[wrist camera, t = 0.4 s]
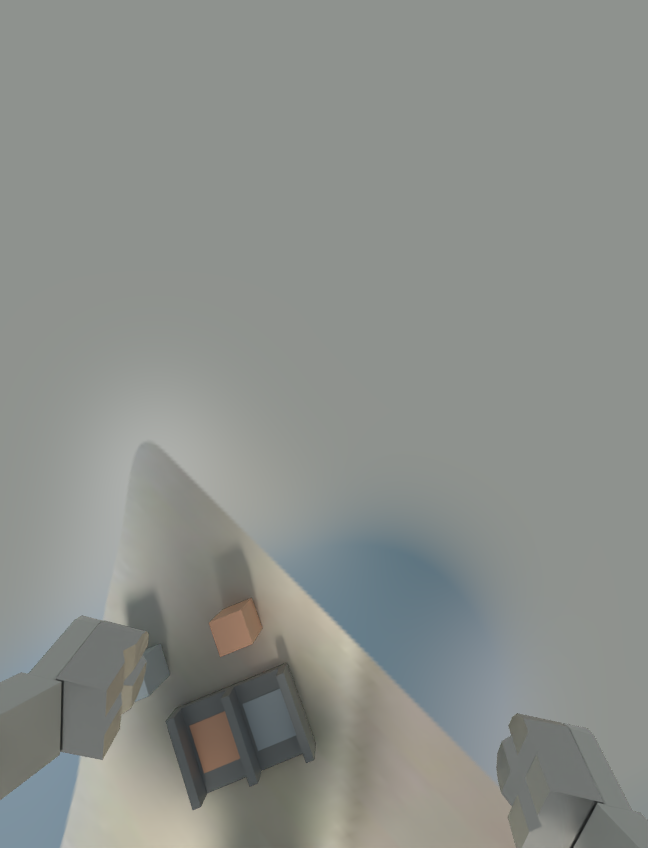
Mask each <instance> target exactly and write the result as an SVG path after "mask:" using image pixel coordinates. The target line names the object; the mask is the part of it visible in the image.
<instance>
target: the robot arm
mask: <svg viewBox="0 0 648 848" xmlns="http://www.w3.org/2000/svg"><path fill="white" fill-rule="evenodd" d="M148 639H149V633H148V632H147V631H144V630H140V629H136V628H132V627H128V626H124V625H120V624H116V623H112V622H108V621H102V620H97V619H93V618H89V617H86V616H80V617H79V618H77V619H75V620H74V621H73V622H72V624H71V625H70V626H69V627H68V628H67V630H65V632H64V633H63V634H62V635H61V636H60V637H59V639H58V640H57V641H56V642H55V643H54V645H53V646H52V647H51V648H50V649H49V650H48V651H47V653H46V654H45V655H44V656H43V657H42V659H41V660H40V661H39V662H38V663H37V664H36V665H35V666H34V668H33V669H32V670H31V671H30V672H29V673H28V674H26V673H19V674H17V675H15V676H13V677H11V678H9V679H6V680H4V681H2V682H0V800H1V799H2V798H4V797H5V796H6V795H8V794H9V793H10V792H12V791H13V790H14V789H16V788H17V787H18V786H19V785H21V784H22V783H23V782H25V781H26V780H27V779H29V778H30V777H31V776H32V775H34V774H35V773H36V772H38V771H39V770H40V769H42V768H43V767H44V766H46V765H47V764H48V763H50V762H51V761H52V760H54V759H55V758H56V757H57V756H59V755H60V752H65V753H70V754H75V755H80V756H85V757H90V758H95V759H100V760H103V758H104V756H105V755H106V753H107V751H108V749H109V747H110V746H111V744H112V742H113V740H114V738H115V737H116V735H117V733H118V731H119V729H120V722H121V715H122V714H124V713H125V712H127V711H128V710H130V709H131V707H132V706H133V704H134V702H135V700H136V698H137V696H138V693H139V691H140V688H141V686H142V683H143V680H144V675H145V671H146V663H147V661H146V660H145V658H144V656H143V653H144V652H145V650H146V648H147V646H148ZM509 729H510V733H511V736H510V737H508V738H506V739H505V740H503V741H502V743H501V745H500V748H499V750H498V753H497V767H496V768H497V776H498V782H499V786H500V790H501V793H502V795H503V796H504V797H505V798H506V800H507V801H508V802H509V804H510V805H511V806H512V808H511V810H510V812H509V815H508V820H509V824H510V828H511V831H512V835H513V839H514V842H515V846H516V848H648V820H647V819H646V818H645V817H644V816H643V815H642V814H641V813H639V812H636V811H633V810H632V809H631V807H630V805H629V803H628V801H627V799H626V797H625V795H624V793H623V791H622V789H621V787H620V785H619V784H618V781H617V779H616V777H615V775H614V773H613V772H612V770H611V768H610V766H609V764H608V762H607V760H606V758H605V756H604V754H603V752H602V750H601V748H600V746H599V744H598V742H597V740H596V738H595V736H594V735H593V734H592V732H591V731H590V730H589V729H588V728H584V727H579V726H574V725H570V724H565V723H563V724H562V723H560V722H555V721H551V720H546V719H541V718H537V717H532V716H527V715H522V714H518V713H517V714H516V715H514V716H513V717H512V719H511V721H510V724H509Z"/></svg>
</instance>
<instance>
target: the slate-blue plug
mask: <svg viewBox="0 0 648 848" xmlns="http://www.w3.org/2000/svg"><path fill="white" fill-rule="evenodd" d="M143 656H144V658H145V660H146V661H147V663H146V671H145V675H144V680H143V683H142V686H141V688H140V691H139V693H138V696H137V698H136V700H135V702H136V701H138V700H141V699H143V698H146V697H148V696H150V695H151V694H152V693H153V691H154V690H155V689H156V688H157V687H158V686H159V685H160V684H161V683H162V682H163V681H164V680H165V679H166V678H167V677H168V676H169V675H170V673H169V670H168V666H167V663H166V660H165V657H164V654H163V650H162V647H161V644H158V645H155V646H153V647H150V648H148V649H146V650H145V652H144V653H143Z"/></svg>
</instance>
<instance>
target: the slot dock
mask: <svg viewBox="0 0 648 848" xmlns="http://www.w3.org/2000/svg"><path fill="white" fill-rule="evenodd" d="M166 724H167V728H168V731H169V734H170V737H171V741H172V744H173V747H174V750H175V754H176V757H177V760H178V764H179V767H180V770H181V773H182V777H183V780H184V783H185V786H186V790H187V793H188V796H189V800H190V803H191V806H192V809H193V810H195V809H197V808H200V807H201V806H202V804H203V801H204V799H205V797H206V795H207V793H209V792H211V791H214V790H216V789H219V788H221V787H223V786H226V785H228V784H231V783H233V782H235V781H238V780H240V779H243V778H245V777H247V780H248V783H249V786H252V785H255V784H257V783H258V781H259V777H260V774H261V771H262V770H264V769H267V768H269V767H272V766H274V765H276V764H279V763H281V762H284V761H286V760H289V759H291V758H293V757H296V756H298V755H301V754H303V756H304V758H305V761H306V763H308V762H310V761H313V760H314V757H315V748H316V743H315V740H314V737H313V734H312V732H311V729H310V726H309V723H308V720H307V717H306V715H305V712H304V709H303V706H302V703H301V701H300V698H299V695H298V692H297V689H296V686H295V684H294V681H293V678H292V675H291V672H290V670H289V667H288V664H287V663H285V664H283V665H280V666H278V667H275V668H273V669H271V670H268V671H266V672H263V673H261V674H258V675H256V676H253V677H251V678H249V679H246V680H244V681H241V682H239V683H236V684H234V685H232V686H229V687H227V688H224V689H222V690H219V691H217V692H214V693H212V694H210V695H207V696H205V697H202V698H200V699H197V700H195V701H192V702H190V703H188V704H185V705H183V706H180V707H178V708H176V709H175V710H174V712H173V713H172V714H171V715H170V717H169V718H168V719H167V720H166Z"/></svg>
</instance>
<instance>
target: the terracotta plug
mask: <svg viewBox="0 0 648 848" xmlns="http://www.w3.org/2000/svg"><path fill="white" fill-rule="evenodd" d="M209 625H210V628H211V631H212V634H213V637H214V640H215V643H216V646H217V649H218V652H219V655H220V657H222V656H224V655H227V654H229V653H232V652H234V651H237V650H239V649H241V648H244V647H246V646H249V645H251V644H253V643H254V641H255V639H256V638H257V636H258V635H259V633H260V631H261V630H262V625H261V623H260V620H259V617H258V614H257V611H256V608H255V606H254V603H253V600H252V598H250V599H247V600H245V601H242V602H240V603H237V604H235V605H233V606H230V607H228V608H225V609H223V610H222V611H221V612H220V613H219V614H217V615H216V616H215V617H214V618H213V619H212V620H211V621H210V622H209Z"/></svg>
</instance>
